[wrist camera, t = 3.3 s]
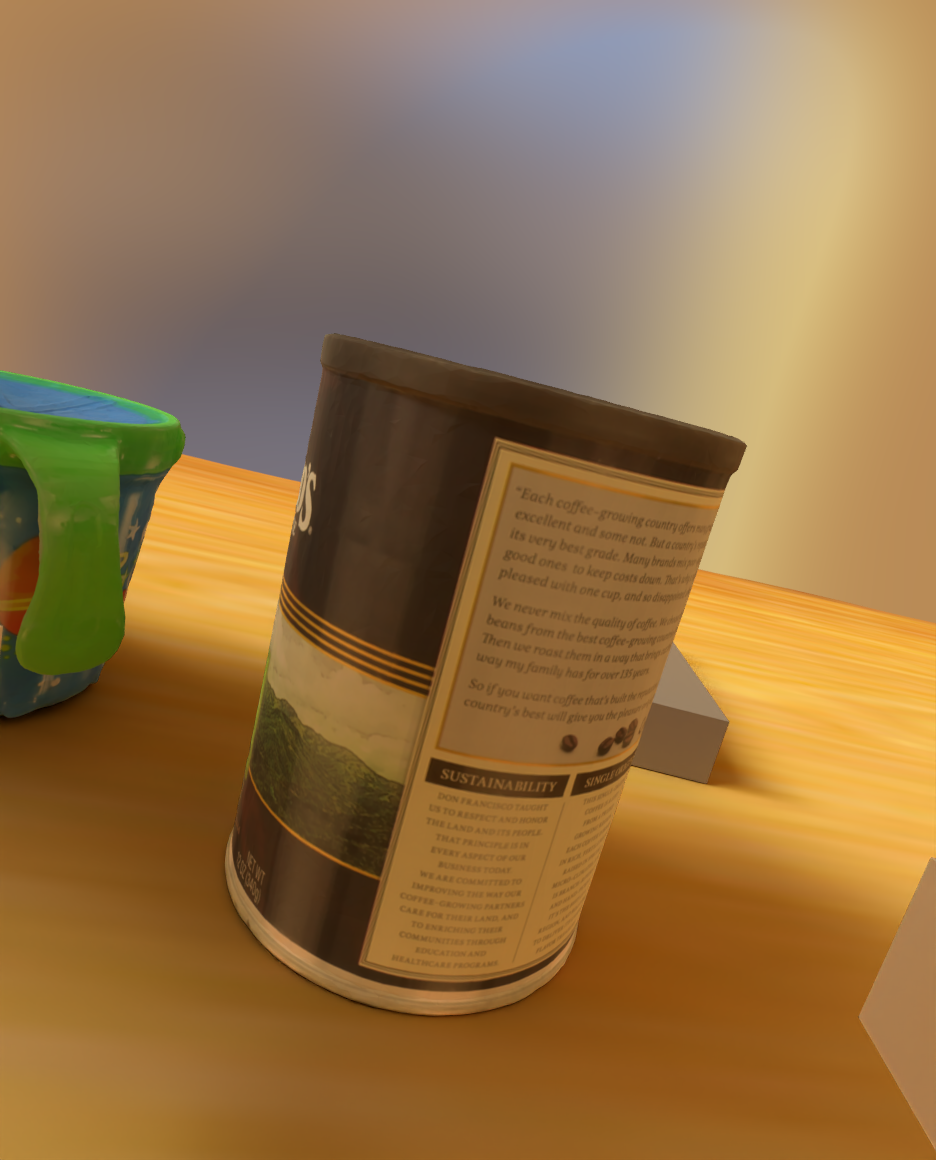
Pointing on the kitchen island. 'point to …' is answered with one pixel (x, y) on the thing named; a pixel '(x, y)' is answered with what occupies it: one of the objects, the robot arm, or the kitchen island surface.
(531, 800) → the coffee can
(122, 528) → the snack cup
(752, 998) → the kitchen island surface
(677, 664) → the slate plinth
